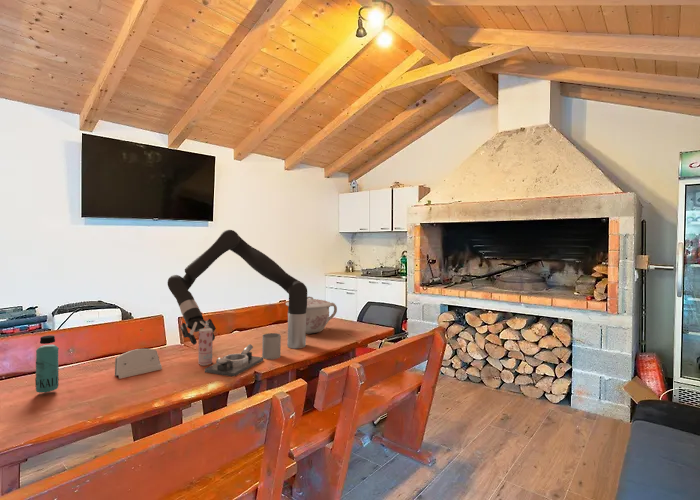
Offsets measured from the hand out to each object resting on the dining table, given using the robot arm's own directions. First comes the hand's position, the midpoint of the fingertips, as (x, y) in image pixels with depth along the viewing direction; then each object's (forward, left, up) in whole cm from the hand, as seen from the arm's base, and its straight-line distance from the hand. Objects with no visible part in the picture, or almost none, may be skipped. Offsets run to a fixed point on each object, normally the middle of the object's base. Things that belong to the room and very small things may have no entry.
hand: (204, 341), depth 172 cm
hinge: (+19, -17, -10) cm, 27 cm away
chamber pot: (-72, +17, -10) cm, 74 cm away
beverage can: (0, +1, -10) cm, 10 cm away
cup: (-20, +22, -10) cm, 31 cm away
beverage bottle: (+47, -27, -10) cm, 55 cm away
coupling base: (-2, +15, -9) cm, 18 cm away
